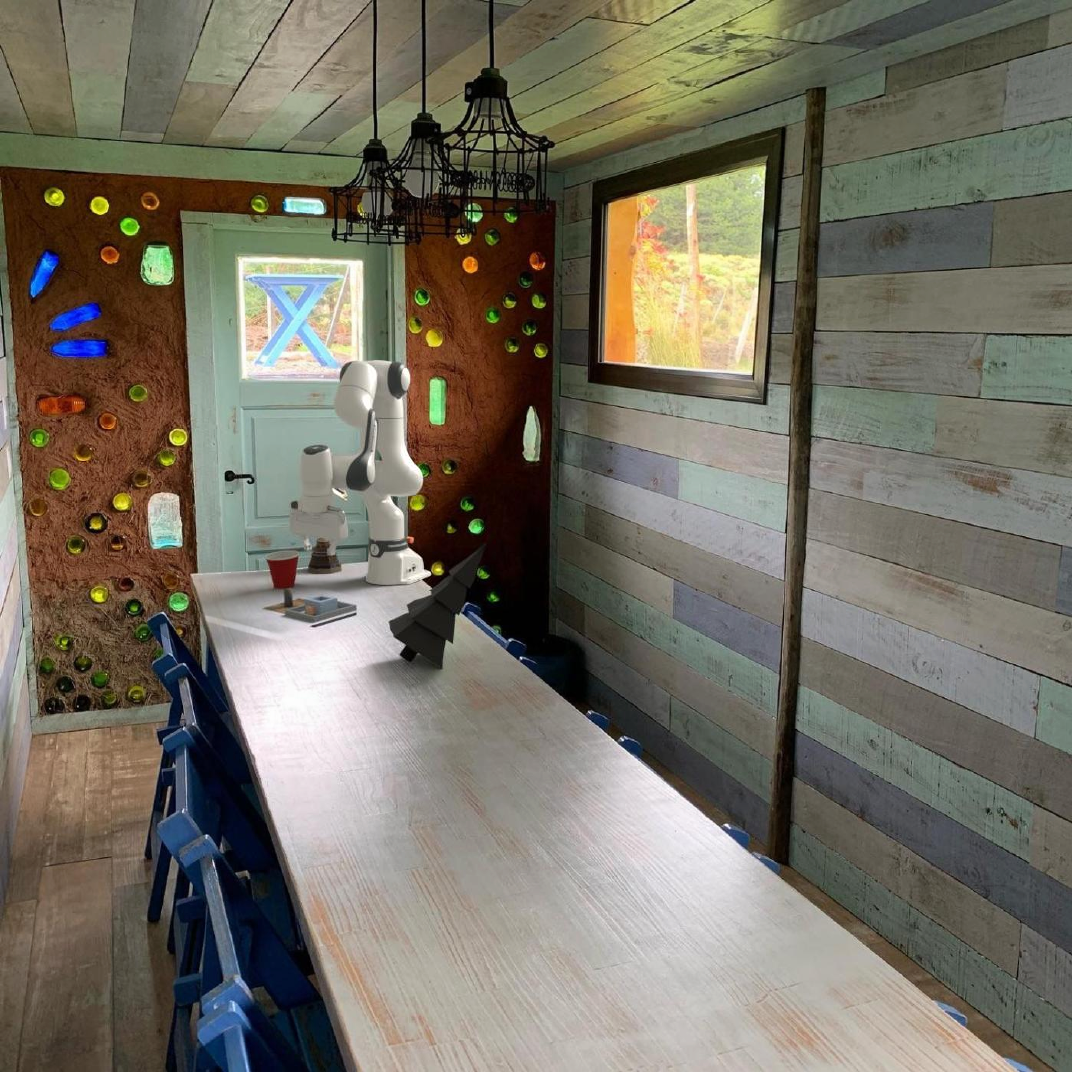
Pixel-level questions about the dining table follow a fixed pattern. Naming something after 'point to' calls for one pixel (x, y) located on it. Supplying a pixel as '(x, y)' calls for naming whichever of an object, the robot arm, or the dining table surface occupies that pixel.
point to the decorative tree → (435, 614)
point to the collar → (320, 604)
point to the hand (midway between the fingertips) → (319, 552)
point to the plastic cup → (283, 568)
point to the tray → (344, 609)
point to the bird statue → (325, 551)
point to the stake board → (281, 606)
